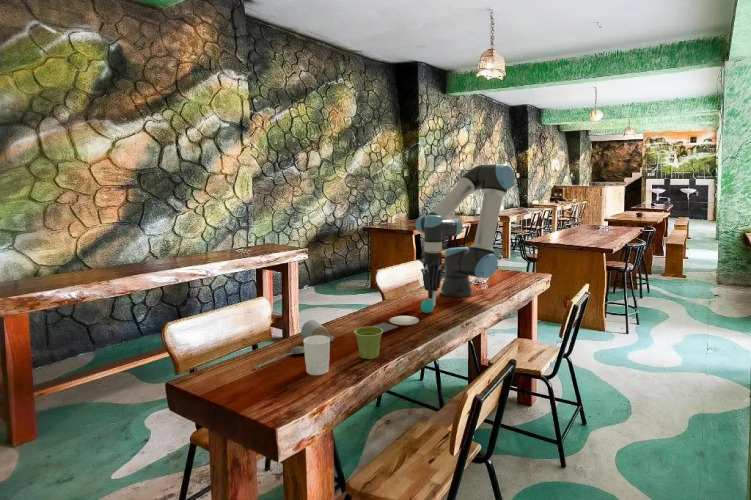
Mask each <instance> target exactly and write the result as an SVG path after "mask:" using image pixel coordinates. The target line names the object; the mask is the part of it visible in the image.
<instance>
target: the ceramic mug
mask: <svg viewBox="0 0 751 500" xmlns="http://www.w3.org/2000/svg"><path fill="white" fill-rule="evenodd" d="M300 335H301V338H302V339H303V340H304V339H305V338H307V337H310V336H315V335H322V336H327V337H329V338H330V342H333V341H334V339H335V338H334V336H333V335H331V334H329V331H328V328H326V327H325V326H323V325H322V324H321V323H320V322H318V321H316V320H314V319H312V320H307V321H306V322H304V324H303V325H302V327H301V330H300Z"/></svg>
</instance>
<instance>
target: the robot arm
mask: <svg viewBox="0 0 751 500" xmlns="http://www.w3.org/2000/svg"><path fill="white" fill-rule="evenodd" d="M515 180H516V179H515V172H514V170H513V168H512V166H510V165H508V164H505V163H504V164H503V163H497V164H479V165H477V166H474V167H472V168H471V169H469V170H468V171H466V172H465V173H463V174H462V176H461V177H459V179H458V181H457V184H456V185H455V186H454V187H453V188H452V189H451V190H450V191H449V192H448V193H447V194H446V195H445V196H444V197H443V199H442V200H440V201H439V202H438V204H437V205H435V207H434V208H433V209H432V210H431V211H430V212H428V214H426V216H420V217H418V218H417V219H416V220H415V224H414V225H415V229H416V231H417V232H418V233H420V234H423V235H424V239H423V240H424V242H423V243H424V245H423V246H424V249H423V251H424V252H423V261H425V265H424V268H421V269H420V271H421V273H422V281H423V285H424V286H423V287H424V290H425V291H427V298H428V300H429V301H431V302H432V303H433V306H434V307H435V306H436V299H437V298H436V297H437V292H438V291H439V289H440V286H441V289H440V291H441V292H440V293H441V295H443V296H444V297H445V296H446V297H452V298H453V297H454V298H465V297H470V296H472V295H473V288H472V285H471V282H470V279H469V276H470V277H476V278H479V279H481V278H482V279H488V278H491V277H492V276H493V275H494V274H495V273H496V271H497V269H498V265H499V261H498V257H497V256H496V253H495V249H494V247H493V246H494V240H495V237H496V236H495V235H496V230H497V226H498V221H499V216H500V212H501V211H500V210H501V206H502V203H503V198H504V197H506V196H507V194H508V193H507V192H508V190H511V189H512V188H513V187H514V184H515ZM478 190H481V192H482V193H483V198H482V203H481V208H480V213H479V218H478V223H477V228H476V233H475V237H474V241H473V243H472V245H470V246H469V247H468V246H461V247H460V246H459V247H458V246H457V247H450V248H449V247H448V248H446V249H445V251H444V266H443V265H441V261H442V260H443V259H442V255H443V253H442V251H443V238H445V237H455V236H459V235H460V234H461V233H462V232H463V228H464V227H463V223H462V221H461V220H460V219H459V218H448V217H449V216H450V215H451V214H453V212H454V211H455V210H456V209H457V208H458V207H459V206H460V205H461V204H462V203H463V201H465V199H466V198H467V197H468V196H469V195H473V194H474V193H475V192H476V191H478ZM443 270H444V280H443V283H442V285H441V280H442V274H443Z"/></svg>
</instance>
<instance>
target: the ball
mask: <svg viewBox="0 0 751 500" xmlns="http://www.w3.org/2000/svg"><path fill="white" fill-rule="evenodd" d="M434 307H435V306H433V303H432V302H431V301H429V299H426V300H425V299H424V300H423V301H421V304H420V309H421V311H422V312H423V313H425V314H430V313H432V311H433V310H434Z"/></svg>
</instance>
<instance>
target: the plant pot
mask: <svg viewBox="0 0 751 500" xmlns="http://www.w3.org/2000/svg"><path fill="white" fill-rule="evenodd" d="M353 333H354V335H355V338H356V341H357V346H358V352H359V353H358V354H359V357H360V358H361V359H363V358H364V360H365V359H367V360H375V359H377V358H378V357H379V356H380V345H381V338H382V336H383V335H382V334H383V333H384V332H383V330H382V329H381V328H378V327H372V326H362V327H361V326H360V327H358V328H355V329H354V330H353ZM374 358H375V359H374Z"/></svg>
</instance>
